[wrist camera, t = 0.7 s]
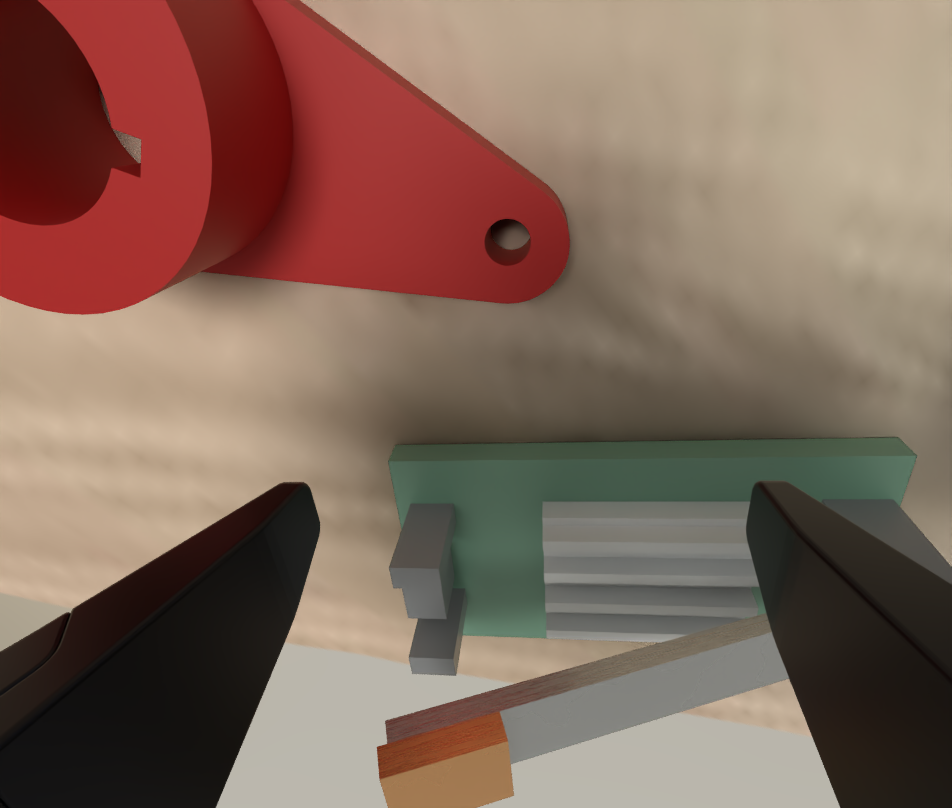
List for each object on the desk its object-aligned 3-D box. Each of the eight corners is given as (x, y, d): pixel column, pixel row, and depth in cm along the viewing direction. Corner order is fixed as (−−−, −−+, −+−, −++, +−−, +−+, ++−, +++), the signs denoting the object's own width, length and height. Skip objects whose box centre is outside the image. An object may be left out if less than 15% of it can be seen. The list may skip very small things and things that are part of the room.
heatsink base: (898, 437, 20) (1006, 541, 16) (838, 625, 25) (907, 750, 20) (395, 444, 23) (355, 535, 18) (426, 613, 28) (401, 721, 23)
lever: (41, 197, 20) (-167, 238, 14) (20, -143, 15) (-301, -290, 9) (513, 367, 21) (501, 470, 15) (626, 97, 16) (670, 97, 11)
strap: (886, 563, 19) (939, 605, 18) (862, 630, 21) (909, 674, 19) (372, 706, 16) (377, 773, 15) (390, 771, 18) (397, 838, 16)
